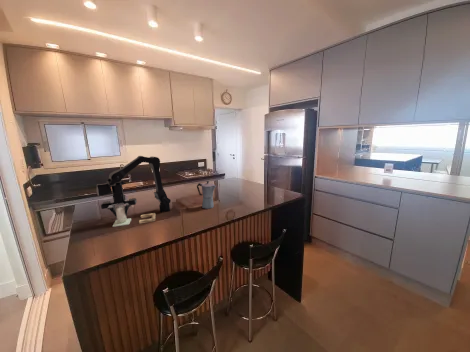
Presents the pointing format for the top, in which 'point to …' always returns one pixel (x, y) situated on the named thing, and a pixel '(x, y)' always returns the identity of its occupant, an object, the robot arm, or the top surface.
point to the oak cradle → (147, 219)
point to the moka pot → (207, 194)
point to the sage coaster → (122, 223)
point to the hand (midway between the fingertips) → (121, 216)
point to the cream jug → (121, 214)
